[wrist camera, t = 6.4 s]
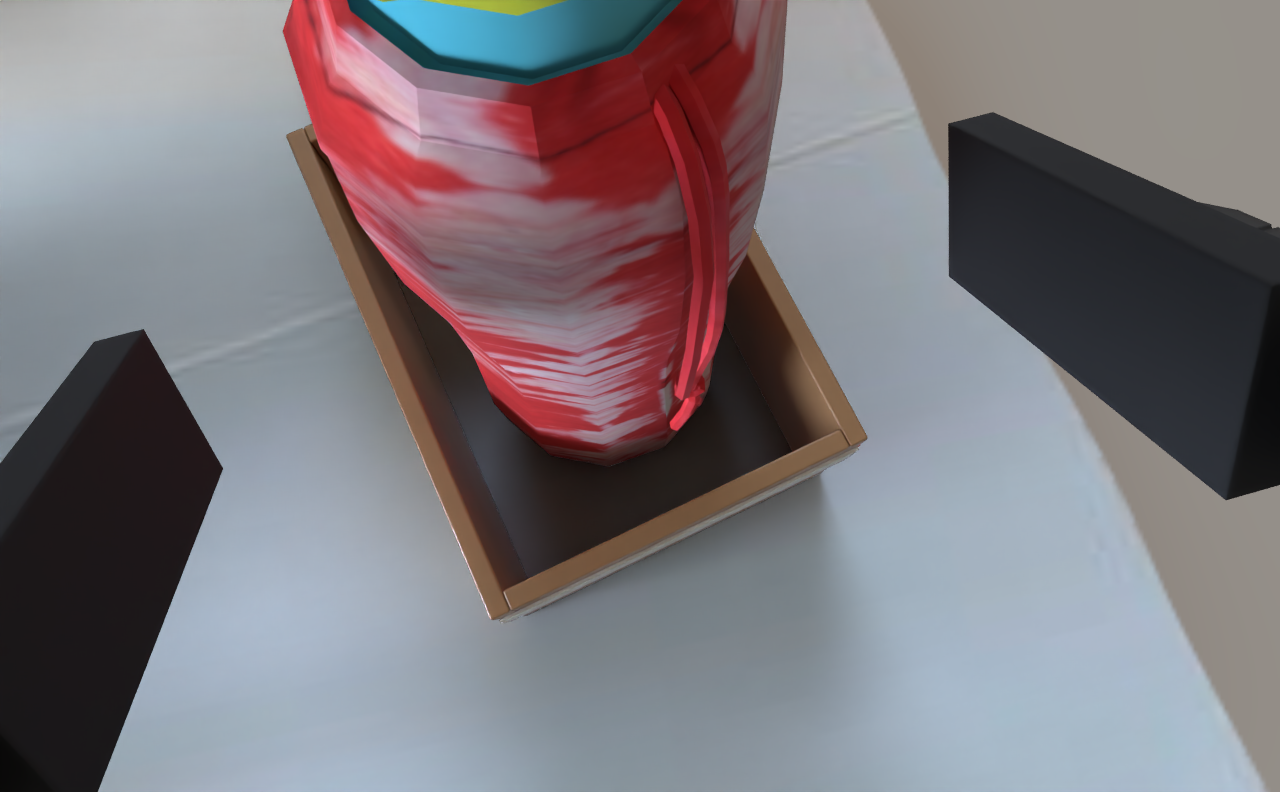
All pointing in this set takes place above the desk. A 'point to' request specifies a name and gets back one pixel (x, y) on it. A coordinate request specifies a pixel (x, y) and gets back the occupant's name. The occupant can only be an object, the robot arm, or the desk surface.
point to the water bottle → (557, 187)
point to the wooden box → (754, 319)
